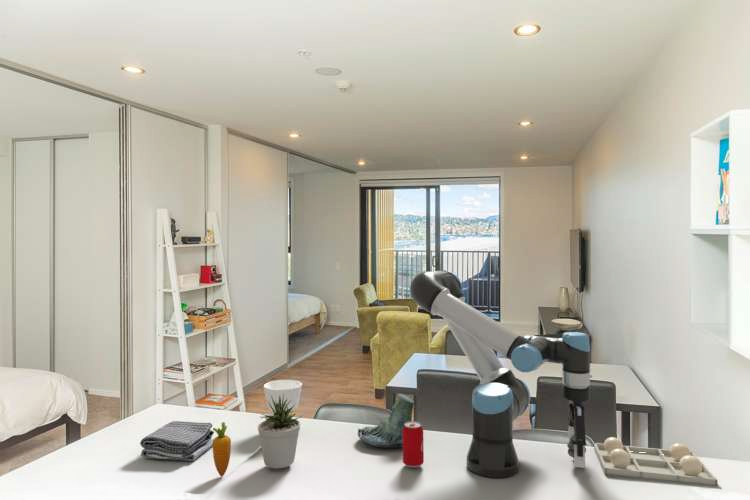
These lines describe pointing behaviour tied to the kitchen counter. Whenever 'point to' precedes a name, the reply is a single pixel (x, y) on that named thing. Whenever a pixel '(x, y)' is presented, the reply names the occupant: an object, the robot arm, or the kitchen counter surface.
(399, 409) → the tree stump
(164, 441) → the towel
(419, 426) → the beverage can
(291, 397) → the cup
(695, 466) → the egg near right
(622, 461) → the egg near left
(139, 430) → the kitchen counter surface
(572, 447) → the seashell
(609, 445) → the egg far left
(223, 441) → the carrot
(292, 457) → the potted plant
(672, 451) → the egg far right
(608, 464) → the egg tray
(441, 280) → the robot arm
